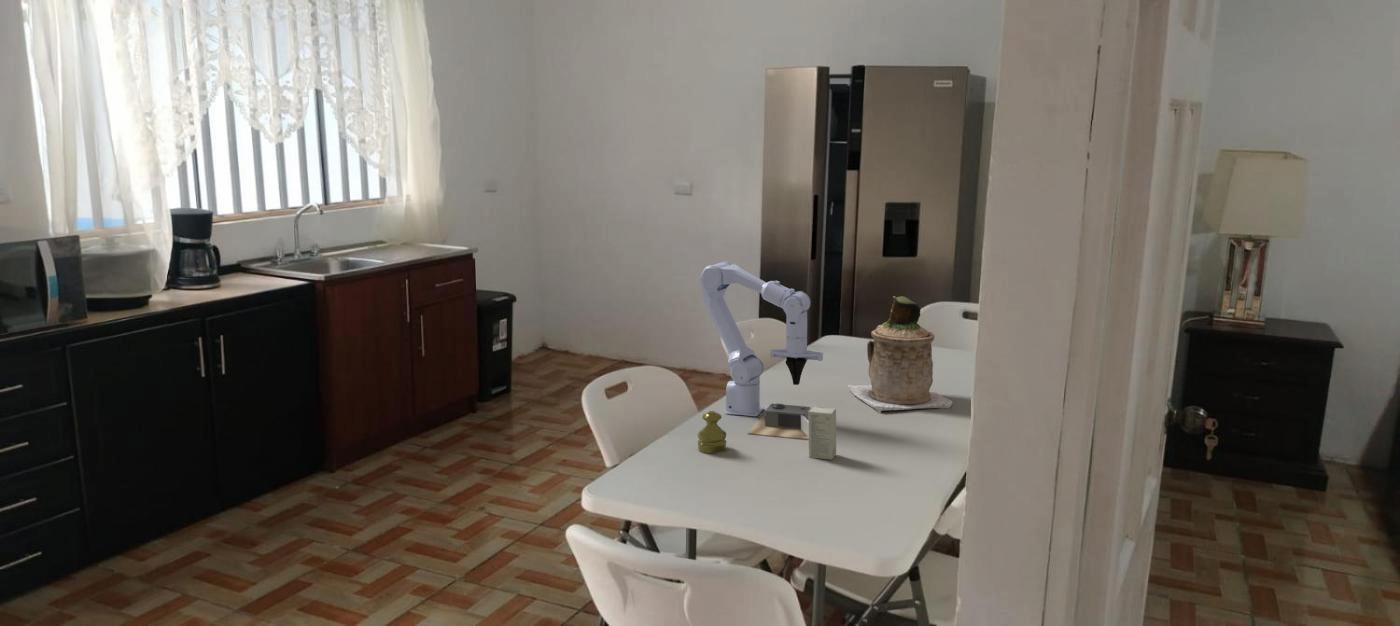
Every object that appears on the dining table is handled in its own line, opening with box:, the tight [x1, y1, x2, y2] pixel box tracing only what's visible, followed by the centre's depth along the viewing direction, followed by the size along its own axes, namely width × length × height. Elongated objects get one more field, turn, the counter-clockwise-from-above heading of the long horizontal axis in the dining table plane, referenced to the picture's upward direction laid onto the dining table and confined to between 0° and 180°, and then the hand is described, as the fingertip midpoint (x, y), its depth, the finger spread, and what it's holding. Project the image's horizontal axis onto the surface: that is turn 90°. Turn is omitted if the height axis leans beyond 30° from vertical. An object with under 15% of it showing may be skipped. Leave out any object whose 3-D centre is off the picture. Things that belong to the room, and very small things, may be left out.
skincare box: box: [808, 406, 837, 461], centre depth 242 cm, size 6×4×12 cm
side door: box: [801, 415, 809, 437], centre depth 259 cm, size 7×2×4 cm, turn 11°
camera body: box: [764, 403, 811, 429], centre depth 267 cm, size 11×7×5 cm, turn 71°
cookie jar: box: [847, 295, 954, 414], centre depth 288 cm, size 25×25×32 cm
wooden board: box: [747, 415, 809, 441], centre depth 265 cm, size 18×16×1 cm
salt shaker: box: [697, 410, 727, 454], centre depth 248 cm, size 7×7×10 cm
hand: (796, 383), depth 270 cm, fingers closed
